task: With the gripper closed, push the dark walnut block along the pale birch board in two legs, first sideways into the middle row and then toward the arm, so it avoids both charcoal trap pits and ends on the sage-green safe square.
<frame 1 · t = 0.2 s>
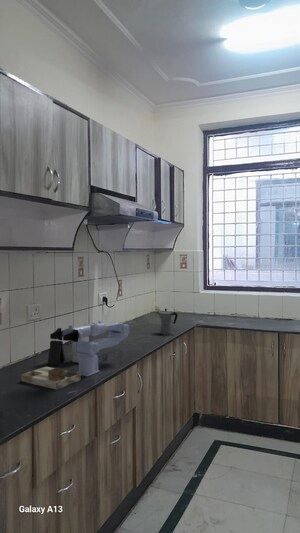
hand: (57, 337, 176), 21 cm above the worktop, tool horizontal, fingers open, 7 cm apart
walnut block: (56, 378, 176), point 3 cm above the worktop, touching trap board
coffeepot: (167, 333, 287), on the worktop
skincare box: (80, 361, 216), on the worktop
trap board: (51, 380, 183), on the worktop
phone stand: (56, 363, 212), on the worktop
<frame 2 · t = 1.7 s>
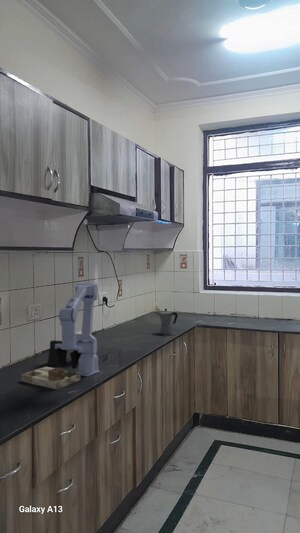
hand: (69, 367, 172), 9 cm above the worktop, tool pointing down, fingers open, 6 cm apart
nothing on the worktop moved.
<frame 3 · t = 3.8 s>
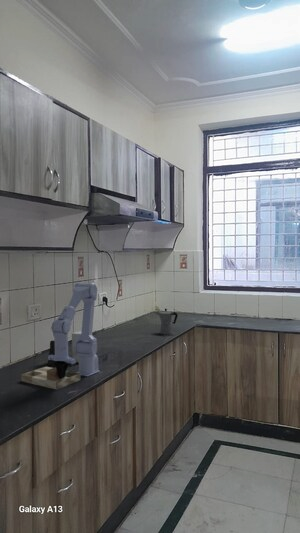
hand: (61, 378, 174), 4 cm above the worktop, tool pointing down, fingers closed
walnut block: (55, 378, 176), point 3 cm above the worktop, touching gripper
everything else where it was.
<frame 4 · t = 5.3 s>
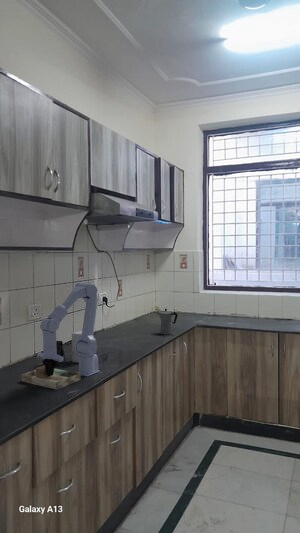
hand: (50, 375, 178), 4 cm above the worktop, tool pointing down, fingers closed
walnut block: (44, 376, 180), point 3 cm above the worktop, touching gripper, trap board
everything else where it was.
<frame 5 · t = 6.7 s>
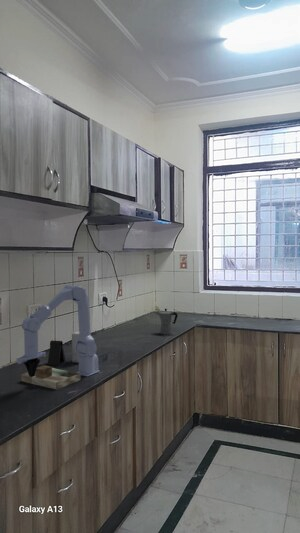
hand: (31, 376, 173), 5 cm above the worktop, tool pointing down, fingers closed
walnut block: (43, 376, 180), point 3 cm above the worktop, touching trap board
everything else where it was.
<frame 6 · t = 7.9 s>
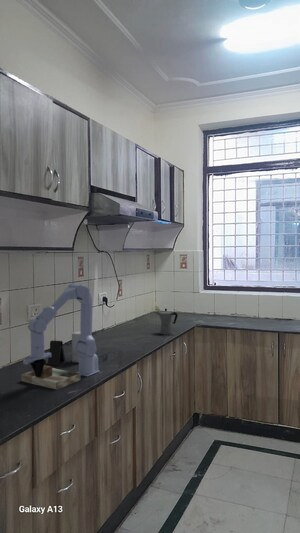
hand: (38, 376, 176), 4 cm above the worktop, tool pointing down, fingers closed
walnut block: (44, 376, 180), point 3 cm above the worktop, touching gripper
everything else where it was.
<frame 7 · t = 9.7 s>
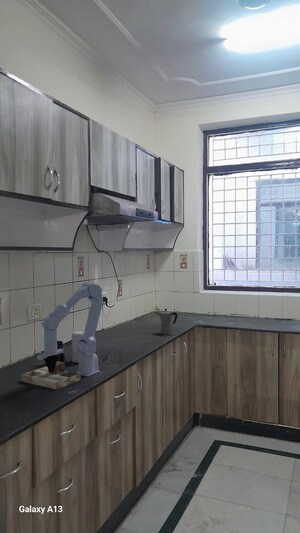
hand: (51, 372, 183), 4 cm above the worktop, tool pointing down, fingers closed
walnut block: (57, 371, 187), point 3 cm above the worktop, touching gripper, trap board
everything else where it was.
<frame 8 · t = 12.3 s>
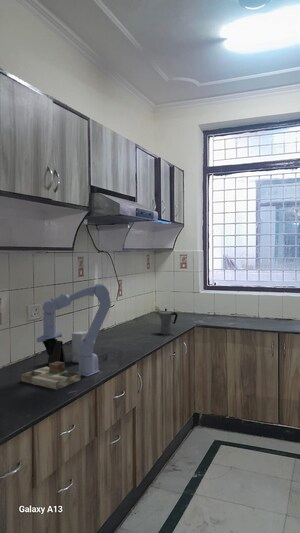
hand: (50, 354, 189), 10 cm above the worktop, tool pointing down, fingers closed
walnut block: (57, 371, 187), point 3 cm above the worktop, touching trap board
everything else where it was.
at the end: walnut block 0.6 cm from the target spot on the trap board, point 3.0 cm above the trap board's base; walnut block tilted 0° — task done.
